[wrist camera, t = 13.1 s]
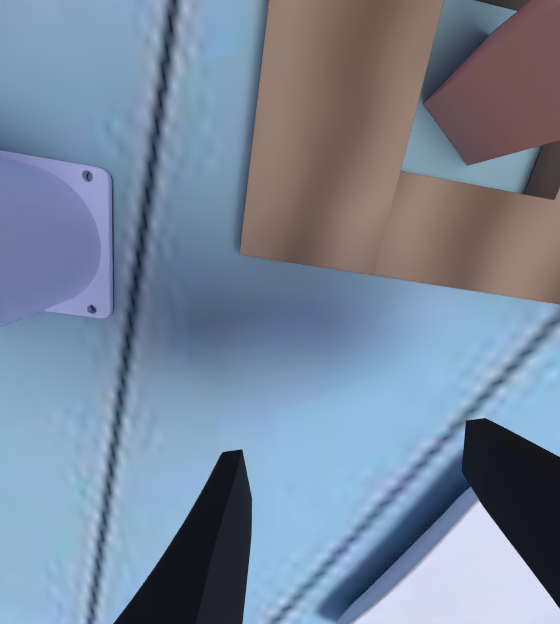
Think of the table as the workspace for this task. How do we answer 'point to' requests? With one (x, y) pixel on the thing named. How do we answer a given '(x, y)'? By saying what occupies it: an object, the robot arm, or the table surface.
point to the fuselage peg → (505, 88)
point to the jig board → (380, 161)
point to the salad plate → (457, 578)
